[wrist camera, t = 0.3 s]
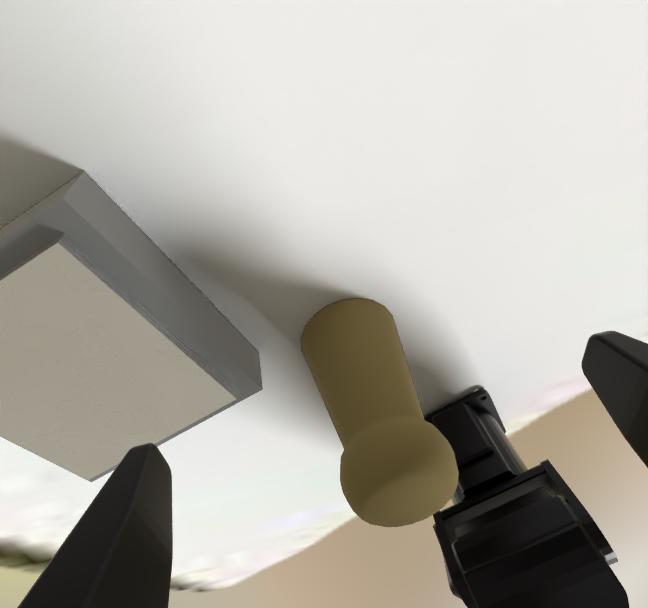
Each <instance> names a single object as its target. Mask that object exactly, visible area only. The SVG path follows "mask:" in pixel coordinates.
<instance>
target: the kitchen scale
mask: <svg viewBox="0 0 648 608" xmlns="http://www.w3.org/2000/svg"><path fill="white" fill-rule="evenodd" d="M260 390H262V379H261V369H260V359H259V352H258V351H257V350H256V349H255V348H254V347H253V346H252V345H251V344H250V343H249V342H248V341H247V340H246V339H245V338H244V336H243V335H242V334H241V333H240V332H239V331H238V330H237V329H236V328H235V327H234V326H233V325H232V324H231V323H230V322H229V321H228V320H227V319H226V318H225V317H224V316H223V315H222V314H221V313H220V312H219V310H218V309H217V308H216V307H215V306H214V305H213V304H212V303H211V302H210V301H209V300H208V299H207V298H206V297H205V296H204V295H203V294H202V293H201V292H200V291H199V290H198V289H197V288H196V287H195V286H194V284H193V283H192V282H191V281H190V280H189V279H188V278H187V277H186V276H185V275H184V274H183V273H182V272H181V271H180V270H179V269H178V268H177V267H176V266H175V265H174V264H173V263H172V262H171V261H170V259H169V258H168V257H167V256H166V255H165V254H164V253H163V252H162V251H161V250H160V249H159V248H158V247H157V246H156V245H155V244H154V243H153V242H152V241H151V240H150V239H149V238H148V237H147V236H146V235H145V233H144V232H143V231H142V230H141V229H140V228H139V227H138V226H137V225H136V224H135V223H134V222H133V221H132V220H131V219H130V218H129V217H128V216H127V215H126V214H125V213H124V212H123V211H122V210H121V209H120V207H119V206H118V205H117V204H116V203H115V202H114V201H113V200H112V199H111V198H110V197H109V196H108V195H107V194H106V193H105V192H104V191H103V190H102V189H101V188H100V187H99V186H98V185H97V184H96V183H95V181H94V180H93V179H92V178H91V177H90V176H89V175H88V174H87V173H86V172H85V171H84V172H82V173H81V174H79V175H78V176H76V177H75V178H73V179H72V180H71V181H69V182H68V183H66V184H65V185H63V186H62V187H60V188H59V189H57V190H56V191H55V192H53V193H52V194H50V195H49V196H47V197H46V198H44V199H43V200H41V201H40V202H39V203H37V204H36V205H34V206H33V207H31V208H30V209H28V210H27V211H25V212H24V213H23V214H21V215H20V216H18V217H17V218H15V219H14V220H12V221H11V222H9V223H8V224H7V225H5V226H4V227H2V228H1V229H0V436H1V437H2V438H4V439H6V440H8V441H10V442H12V443H14V444H16V445H18V446H20V447H22V448H24V449H26V450H28V451H30V452H32V453H34V454H36V455H38V456H40V457H42V458H44V459H46V460H48V461H50V462H52V463H54V464H56V465H58V466H60V467H62V468H64V469H66V470H68V471H70V472H72V473H74V474H76V475H78V476H80V477H82V478H84V479H86V480H88V481H90V482H93V481H94V480H96V479H98V478H100V477H102V476H104V475H106V474H107V473H109V472H111V471H113V470H115V469H116V468H117V466H118V465H119V463H120V462H121V461H122V459H123V458H124V456H125V455H126V453H127V452H128V451H129V450H130V449H131V448H133V447H135V446H139V445H143V444H147V443H153V444H155V445H156V446H159V445H161V444H163V443H164V442H166V441H168V440H170V439H172V438H174V437H176V436H177V435H179V434H181V433H183V432H185V431H187V430H188V429H190V428H192V427H194V426H196V425H198V424H199V423H201V422H203V421H205V420H207V419H209V418H210V417H212V416H214V415H216V414H218V413H220V412H222V411H223V410H225V409H227V408H229V407H231V406H233V405H234V404H236V403H238V402H240V401H242V400H244V399H245V398H247V397H249V396H251V395H253V394H255V393H257V392H258V391H260Z"/></svg>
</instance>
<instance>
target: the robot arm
mask: <svg viewBox="0 0 648 608" xmlns="http://www.w3.org/2000/svg"><path fill="white" fill-rule="evenodd" d="M582 370H583V372H584V375H585V376H586V378H587V379H588V381H589V383H590V384H591V386H592V387H593V389H594V391H595V392H596V394H597V395H598V397H599V398H600V400H601V402H602V403H603V405H604V406H605V408H606V410H607V411H608V413H609V414H610V416H611V417H612V419H613V421H614V422H615V424H616V425H617V427H618V428H619V430H620V431H621V433H622V434H623V436H624V437H625V439H626V440H627V441H628V443H629V444H630V445H631V447H632V448H633V450H634V451H635V452H636V453H637V455H638V456H639V457H640V459H641V460H642V461H643V462H644V463H645V465H646V466H647V467H648V344H647V343H644V342H642V341H639V340H637V339H634V338H631V337H629V336H626V335H624V334H621V333H618V332H615V331H605V332H601V333H597V334H594V335H592V336H591V337H590V338H589V340H588V343H587V346H586V349H585V353H584V356H583V359H582ZM424 419H425V421H427V422H429V423H431V424H433V425H434V426H435V427H436V428H437V429H438V430H439V431H440V432H441V433H442V435H443V436H444V437H445V438H446V439H447V440H448V442H449V444H450V445H451V447H452V449H453V451H454V454H455V459H456V463H457V468H458V472H459V475H458V484H457V488H456V491H455V494H454V495H453V496H452V497H451V499H452V501H453V503H454V505H453V506H451V507H449V508H447V509H444V510H442V511H440V510H439V511H437V512H436V513H435V514H433V517H434V520H435V524H434V526H433V528H434V530H435V533H436V536H437V538H438V540H439V543H440V546H441V549H442V552H443V556H444V561H445V567H446V572H447V576H448V581H449V586H450V589H451V591H452V593H453V595H455V596H457V597H458V598H460V599H462V600H463V602H464V603H465V605H466V606H467V607H468V608H629V602H628V597H627V594H626V591H625V590H624V588H623V586H622V585H621V583H620V582H619V580H618V579H617V577H616V576H615V574H614V573H613V571H612V570H611V568H610V567H609V565H611V564H613V563H615V562H618V559H617V557H616V555H615V553H614V551H613V550H612V548H611V547H610V545H609V543H608V541H607V540H606V538H605V537H604V535H603V534H602V532H601V531H600V529H599V528H598V526H597V525H596V523H595V522H594V520H593V519H592V517H591V516H590V515H589V513H588V512H587V510H586V509H585V508H584V506H583V505H582V504H581V502H580V501H579V500H578V499H577V497H576V496H575V495H574V493H573V492H572V491H571V489H570V488H569V487H568V486H567V484H566V483H565V482H564V480H563V479H562V478H561V476H560V475H559V474H558V472H557V471H556V470H555V468H554V467H553V466H552V464H551V463H550V462H549V461H548V459H547V460H545V461H543V462H541V463H540V465H538V466H536V467H534V468H531V469H529V470H528V469H527V467H526V466H525V464H524V463H523V461H522V460H521V458H520V457H519V455H518V454H517V452H516V450H515V449H514V447H513V446H512V444H511V443H510V441H509V439H508V438H507V436H506V435H505V432H506V430H505V428H504V426H503V424H502V421H501V419H500V417H499V415H498V413H497V410H496V408H495V406H494V404H493V402H492V399H491V397H490V395H489V394H488V392H487V391H486V390H480V391H478V392H476V393H474V394H472V395H470V396H468V397H466V398H464V399H462V400H460V401H458V402H456V403H454V404H452V405H450V406H447V407H445V408H443V409H441V410H439V411H437V412H435V413H433V414H431V415H429V416H427V417H425V418H424ZM172 554H173V535H172V475H171V470H170V467H169V465H168V463H167V462H166V460H165V459H164V457H163V455H162V454H161V452H160V451H159V449H158V448H157V446H156V445H155V444H153V443H147V444H143V445H139V446H135V447H133V448H131V449H130V450H129V451H128V452H127V453H126V455H125V456H124V458H123V459H122V461H121V462H120V463H119V465H118V466H117V468H116V469H115V470H114V472H113V473H112V475H111V476H110V477H109V479H108V480H107V482H106V483H105V485H104V486H103V487H102V489H101V490H100V492H99V493H98V494H97V496H96V497H95V499H94V500H93V502H92V503H91V504H90V506H89V507H88V509H87V510H86V511H85V513H84V514H83V516H82V517H81V518H80V520H79V521H78V523H77V524H76V526H75V527H74V528H73V530H72V531H71V533H70V534H69V535H68V537H67V538H66V540H65V541H64V543H63V544H62V545H61V547H60V548H59V550H58V551H57V552H56V554H55V555H54V557H53V558H52V559H51V561H50V562H49V564H48V565H47V567H46V568H45V569H44V571H43V572H42V574H41V575H40V576H39V578H38V579H37V581H36V582H35V583H34V585H33V586H32V588H31V589H30V591H29V592H28V593H27V595H26V596H25V598H24V599H23V601H22V602H21V603H20V605H19V606H18V608H168V601H169V591H170V581H171V570H172Z"/></svg>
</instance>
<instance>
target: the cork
mask: <svg viewBox="0 0 648 608" xmlns="http://www.w3.org/2000/svg"><path fill="white" fill-rule="evenodd" d="M301 347H302V352H303V354H304V357H305V359H306V361H307V364H308V366H309V368H310V371H311V373H312V375H313V378H314V380H315V382H316V385H317V387H318V389H319V392H320V394H321V396H322V399H323V401H324V403H325V406H326V408H327V410H328V412H329V415H330V417H331V419H332V422H333V424H334V426H335V429H336V431H337V433H338V436H339V438H340V440H341V443H342V445H343V447H344V452H343V454H342V456H341V466H340V481H341V486H342V490H343V493H344V495H345V497H346V499H347V501H348V503H349V505H350V506H351V508H352V510H353V511H354V512H355V513H356V514H357V515H358V516H359V517H360V518H361V519H362V520H364V521H366V522H368V523H369V524H373V525H378V526H384V527H399V526H404V525H409V524H413V523H415V522H418V521H421V520H423V519H426V518H427V517H429V516H431V515H433V514H435V513H436V512H437V511H439V510H440V509H441V508H443V507H444V506H445V505H446V503H447V502H448V501H449V500H450V499H451V497H452V496H453V495H454V494H455V491H456V488H457V484H458V475H459V472H458V468H457V463H456V459H455V454H454V451H453V449H452V447H451V445H450V444H449V442H448V440H447V439H446V438H445V437H444V436H443V435H442V433H441V432H440V431H439V430H438V429H437V428H436V427H435V426H434V425H433V424H431V423H429V422H427V421H425V419H424V416H423V413H422V410H421V406H420V403H419V400H418V397H417V393H416V390H415V387H414V384H413V380H412V377H411V374H410V371H409V367H408V364H407V361H406V358H405V354H404V351H403V348H402V345H401V341H400V338H399V335H398V332H397V328H396V325H395V322H394V319H393V316H392V314H391V313H390V312H389V311H388V310H387V308H386V307H385V306H383V305H381V304H379V303H377V302H375V301H373V300H368V299H362V298H354V299H346V300H341V301H338V302H336V303H333V304H330V305H328V306H326V307H325V308H323V309H322V310H321V311H319V312H318V313H316V314H315V315H314V316H313V317H312V319H311V320H310V321H309V322H308V324H307V325H306V326H305V329H304V332H303V334H302V337H301Z"/></svg>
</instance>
